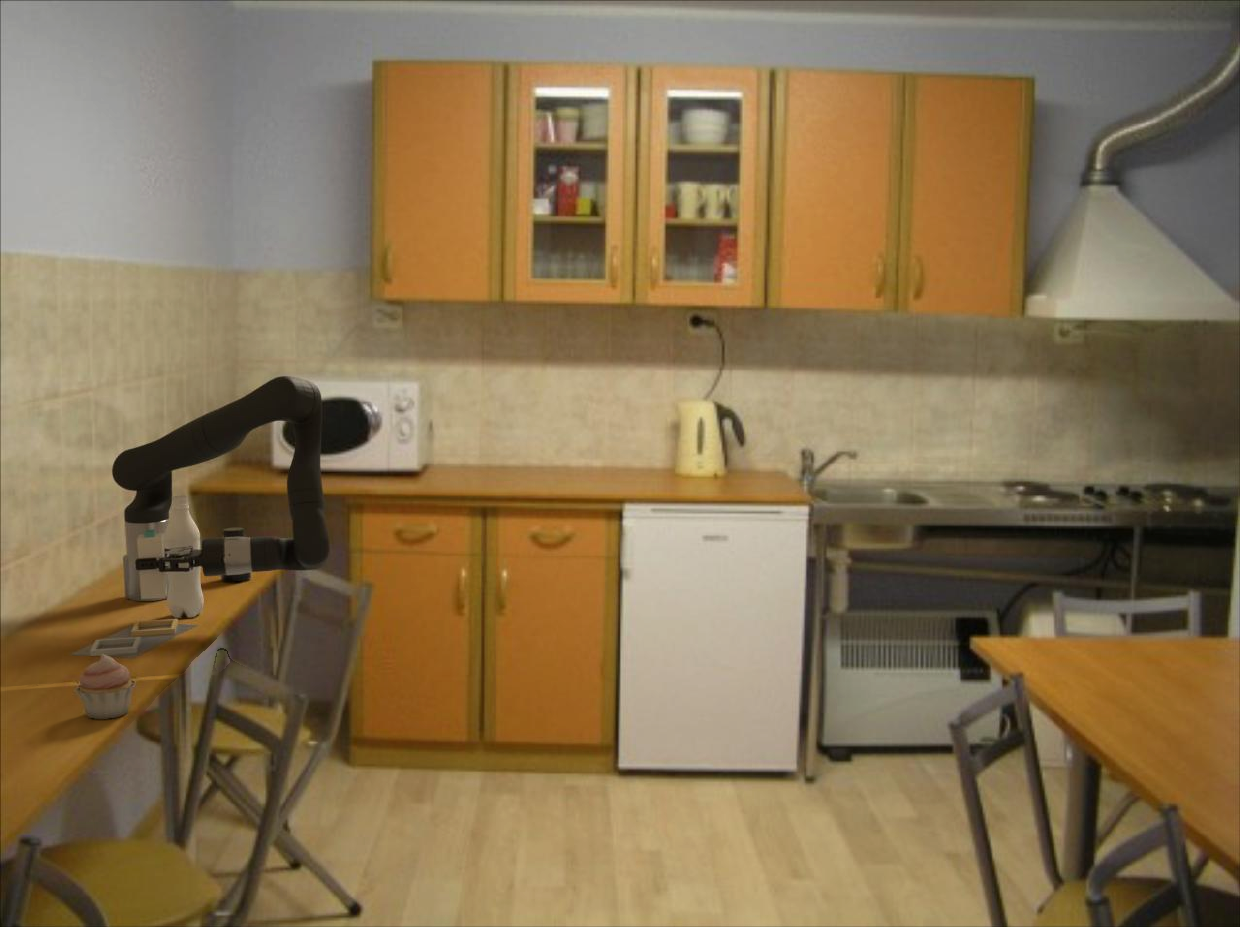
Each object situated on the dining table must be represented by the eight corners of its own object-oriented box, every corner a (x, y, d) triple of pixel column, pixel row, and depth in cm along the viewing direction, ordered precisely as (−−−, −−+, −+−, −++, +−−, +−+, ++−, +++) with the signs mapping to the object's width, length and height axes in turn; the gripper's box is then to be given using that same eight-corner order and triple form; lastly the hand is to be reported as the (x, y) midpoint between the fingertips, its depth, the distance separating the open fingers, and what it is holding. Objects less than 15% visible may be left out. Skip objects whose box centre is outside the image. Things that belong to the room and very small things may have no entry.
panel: (68, 658, 257) (67, 649, 256) (140, 624, 281) (139, 617, 280) (132, 661, 254) (131, 652, 254) (199, 627, 278) (198, 619, 278)
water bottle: (193, 620, 284) (187, 500, 280) (161, 619, 285) (154, 499, 282) (210, 612, 291) (204, 494, 287) (179, 610, 292) (172, 493, 289)
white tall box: (141, 599, 270) (136, 533, 269) (143, 594, 275) (139, 529, 273) (165, 597, 271) (161, 532, 270) (167, 592, 276) (162, 528, 274)
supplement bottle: (257, 578, 322) (255, 528, 320) (235, 584, 316) (232, 532, 315) (237, 575, 326) (234, 525, 324) (214, 581, 320) (211, 530, 318)
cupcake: (90, 705, 229) (86, 646, 227) (146, 705, 228) (143, 646, 227) (66, 723, 219) (62, 662, 218) (124, 723, 219) (120, 662, 218)
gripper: (227, 531, 282) (139, 536, 278) (224, 544, 268) (131, 550, 264) (229, 567, 283) (141, 573, 279) (227, 582, 269) (134, 588, 265)
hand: (137, 561), depth 272 cm, fingers closed on white tall box, 4 cm apart
